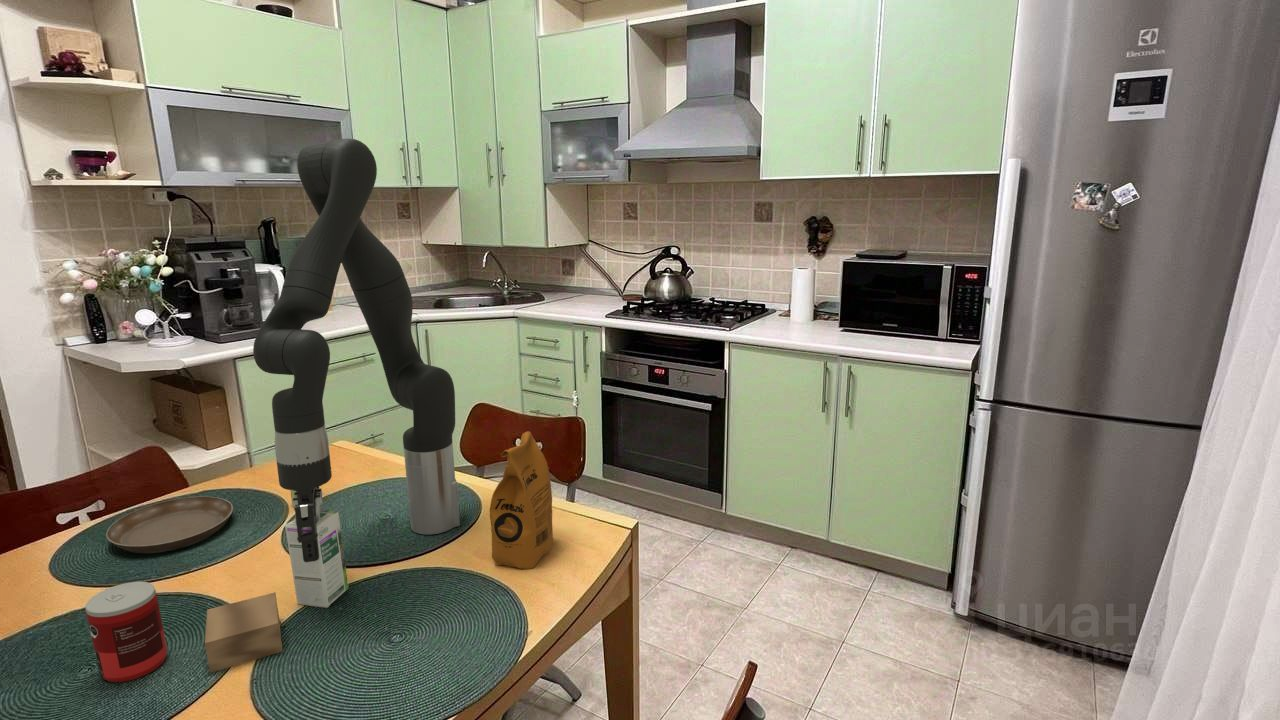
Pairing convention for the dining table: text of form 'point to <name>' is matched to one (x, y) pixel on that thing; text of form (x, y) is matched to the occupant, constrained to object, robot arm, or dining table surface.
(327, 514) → the syrup box
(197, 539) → the plant saucer
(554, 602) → the dining table surface
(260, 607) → the base block
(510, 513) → the coffee package
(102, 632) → the canned food
